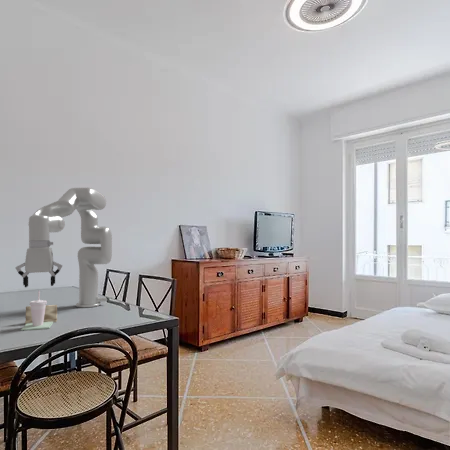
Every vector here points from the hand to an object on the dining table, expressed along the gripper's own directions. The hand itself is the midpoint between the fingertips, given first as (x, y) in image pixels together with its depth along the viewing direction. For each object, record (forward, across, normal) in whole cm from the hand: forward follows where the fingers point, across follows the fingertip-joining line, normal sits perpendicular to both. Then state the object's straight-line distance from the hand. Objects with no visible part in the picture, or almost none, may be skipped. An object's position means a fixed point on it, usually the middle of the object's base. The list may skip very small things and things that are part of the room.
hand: (39, 286), depth 147 cm
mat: (+16, 0, +1) cm, 17 cm away
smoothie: (+16, 0, +1) cm, 16 cm away
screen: (+17, 0, -7) cm, 18 cm away
